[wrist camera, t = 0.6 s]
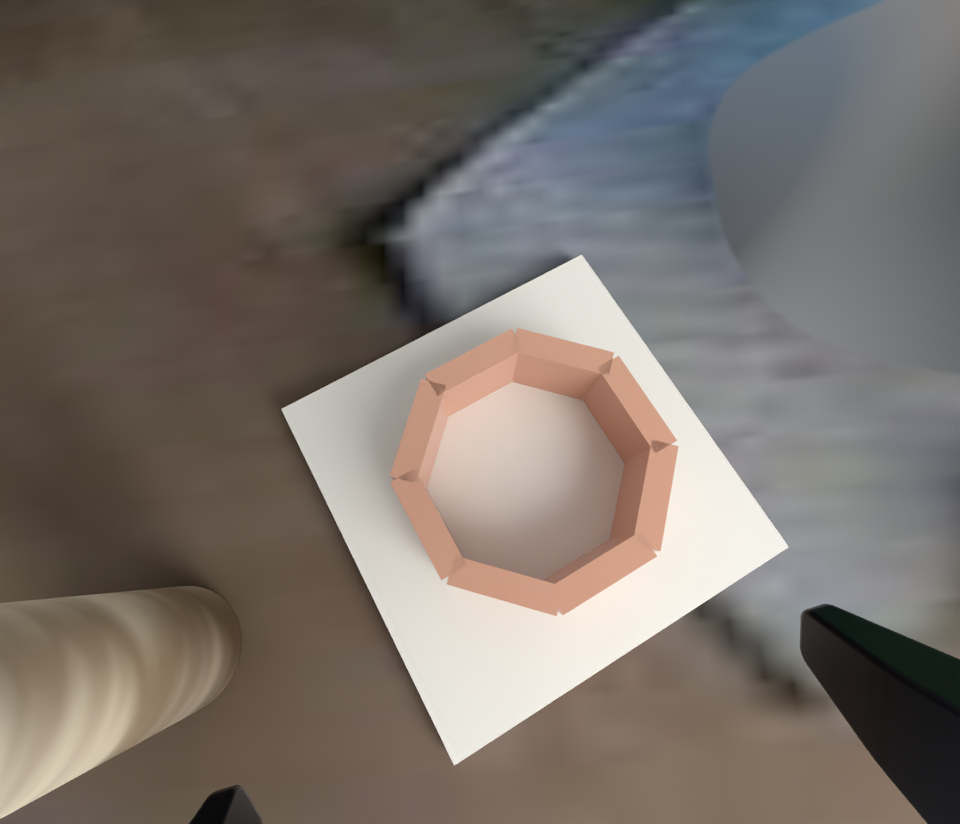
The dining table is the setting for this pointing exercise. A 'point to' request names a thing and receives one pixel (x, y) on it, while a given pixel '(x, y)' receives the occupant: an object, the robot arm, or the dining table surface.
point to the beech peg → (103, 678)
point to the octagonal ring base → (526, 500)
